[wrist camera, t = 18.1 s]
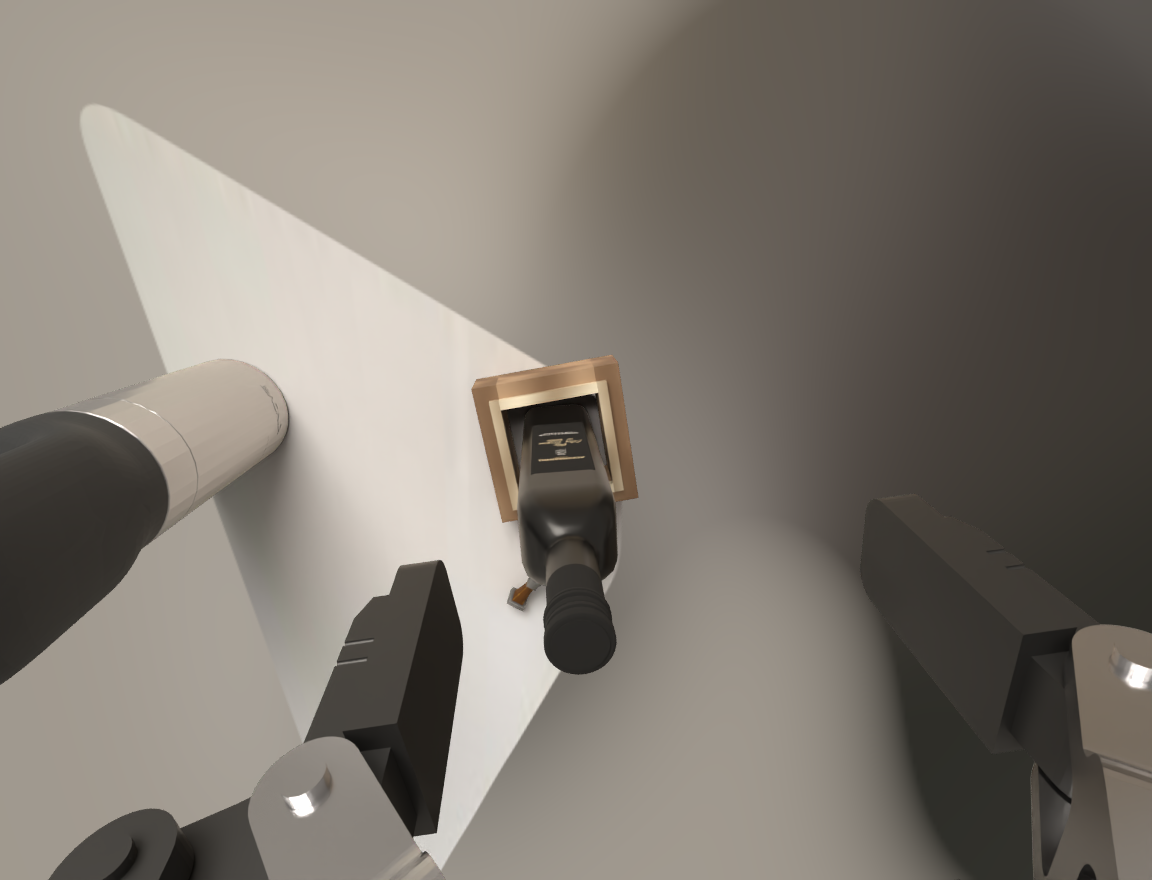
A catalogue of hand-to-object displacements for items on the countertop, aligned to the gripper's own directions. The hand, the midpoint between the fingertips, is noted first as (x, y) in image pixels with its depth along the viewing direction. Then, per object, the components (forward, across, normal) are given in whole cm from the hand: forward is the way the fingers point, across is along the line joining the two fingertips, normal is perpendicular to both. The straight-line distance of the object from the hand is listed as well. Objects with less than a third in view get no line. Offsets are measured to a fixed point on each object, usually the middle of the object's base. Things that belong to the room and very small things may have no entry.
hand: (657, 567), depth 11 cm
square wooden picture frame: (+39, +2, +14) cm, 42 cm away
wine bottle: (+39, +2, +14) cm, 42 cm away
